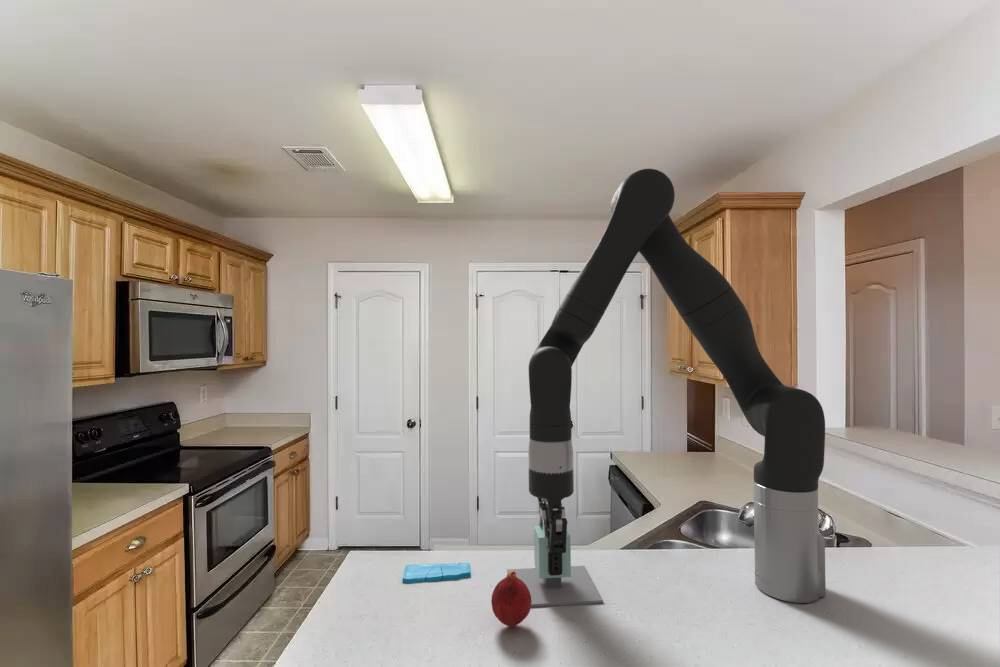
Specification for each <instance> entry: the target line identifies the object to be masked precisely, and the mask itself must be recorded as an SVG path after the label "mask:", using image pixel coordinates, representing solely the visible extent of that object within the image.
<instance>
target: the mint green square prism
mask: <svg viewBox="0 0 1000 667" xmlns="http://www.w3.org/2000/svg"><path fill="white" fill-rule="evenodd" d="M547 530H548V531H549V532H550V529H547ZM533 536H534V537H533V539H534V540H533V545H534V546H533V547H534V558H533V559H534V566H535V567H534V568H536V570H537V573H538V576H539V579H542V578H560V577H571V566H572V565H571V564H572V557H571V552H572V548H571V546H572V545H571V535H570V533H569V532H568V530H567V535H566V553H562V574H561V575H553V576H551V575H550V574H549V572H548V550H547V537H545V536H544V534H543V527H540V526H539V525H534V526H533ZM554 544H559V541H555V542H554Z"/></svg>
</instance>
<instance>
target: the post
mask: <svg viewBox="0 0 1000 667" xmlns="http://www.w3.org/2000/svg"><path fill="white" fill-rule="evenodd" d="M543 581H544V584H545V587H546V588H557V587H561V577H560V578H543Z"/></svg>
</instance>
